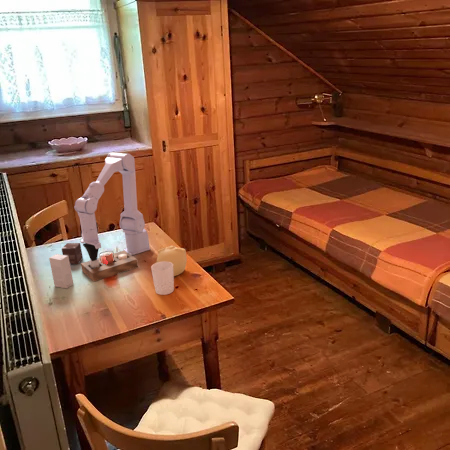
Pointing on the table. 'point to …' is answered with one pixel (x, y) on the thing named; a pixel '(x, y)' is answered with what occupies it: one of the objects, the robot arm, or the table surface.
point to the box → (73, 252)
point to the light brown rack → (110, 267)
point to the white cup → (163, 277)
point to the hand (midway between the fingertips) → (94, 260)
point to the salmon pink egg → (109, 258)
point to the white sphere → (94, 263)
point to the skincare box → (61, 271)
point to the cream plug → (122, 256)
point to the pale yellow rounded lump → (173, 258)
